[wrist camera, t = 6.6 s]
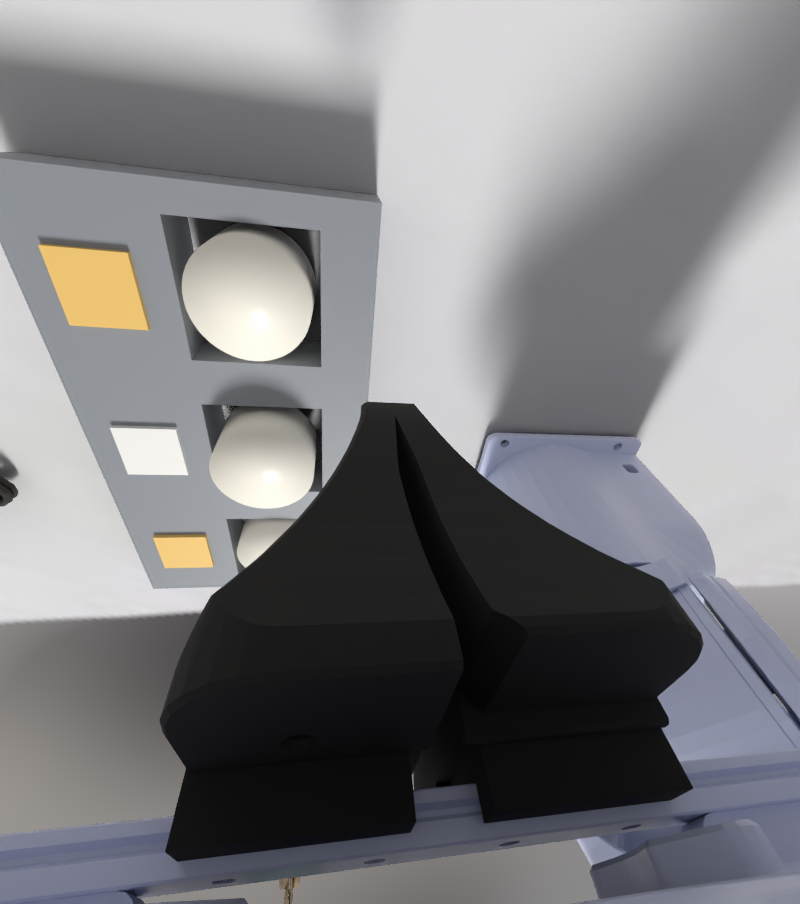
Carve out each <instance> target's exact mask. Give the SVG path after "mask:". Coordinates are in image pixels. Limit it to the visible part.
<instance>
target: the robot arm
mask: <svg viewBox="0 0 800 904" xmlns="http://www.w3.org/2000/svg"><path fill="white" fill-rule="evenodd" d="M503 440H507V441H506V442H505V443H501V442H502V441H503ZM616 444H617V445H616ZM640 446H641V442H640V441H639V440H638V439H637V438H636V437H621V436H588V435H556V434H524V433H493V434H490V435H489V436H488V437H487V439H486V442H485V445H484V449H483V452H482V455H481V459H480V462H479V466H478V469H477V470H476V469H474V468H473V467H472V466H471V465H470V464H469V463H468V462H467V461H466V460H465V459H464V458H463V457H461V456H460V455H459V454H458V453H457V452H456V451H455V450H454V449H453V448H452V446H451V445H450V444H449V443H448V442H447V441H446V440H445V439H444V438H443V437H442V436H441V435H440V434H439V433H438V431H437V430H436V429H435V428H434V427H433V426H432V425H431V423H430V422H429V421H428V420H427V419H426V418H425V416H424V415H423V414H422V413H421V412H420V411H419V409H418V408H417V407H416V406H415V405H414V404H404V403H380V402H365V403H364V404H363V405H361V415H360V419H359V422H358V425H357V428H356V431H355V433H354V435H353V438H352V440H351V442H350V444H349V446H348V448H347V450H346V452H345V454H344V456H343V457H342V459H341V461H340V463H339V464H338V466H337V468H336V469H335V471H334V472H333V474H332V476H331V477H330V479H329V480H328V481H327V483H326V484H325V486H324V487H323V488H322V490H321V491H320V492H319V494H318V495H317V496H316V498H315V499H314V500H313V501H312V502H311V504H310V505H309V506H308V507H307V508H306V510H305V511H304V512H303V513H302V514H301V515H300V517H299V518H298V519H297V520H296V521H295V522H294V523H293V524H292V525H291V526H290V527H289V528H288V529H287V530H286V531H285V532H284V533H283V534H282V535H281V536H280V537H279V538H278V539H277V540H276V541H275V542H274V543H273V544H272V545H271V546H270V547H269V548H268V549H267V550H266V551H265V552H264V553H262V554H261V555H260V556H259V557H258V558H257V559H256V560H255V561H253V562H252V563H251V564H250V565H248V566H247V567H246V568H245V569H244V570H242V571H241V572H240V573H239V574H237V575H236V576H235V577H234V578H233V579H231V580H230V581H229V582H228V583H226V584H225V585H224V586H223V587H222V588H220V589H219V590H218V591H217V592H215V593H214V594H213V595H212V596H211V597H210V599H209V601H208V602H207V604H206V606H205V608H204V610H203V611H202V613H201V615H200V617H199V619H198V621H197V622H196V624H195V627H194V628H193V630H192V633H191V635H190V637H189V639H188V641H187V643H186V646H185V648H184V650H183V652H182V654H181V657H180V659H179V662H178V664H177V667H176V670H175V673H174V676H173V680H172V682H171V686H170V689H169V692H168V695H167V698H166V701H165V705H164V708H163V711H162V714H161V718H160V724H161V728H162V731H163V734H164V735H165V737H166V738H167V739H168V741H169V743H170V744H171V746H172V747H173V749H174V750H175V752H176V753H177V755H178V756H179V758H180V759H181V761H182V762H183V764H184V765H185V767H186V771H185V776H184V779H183V783H182V787H181V791H180V795H179V799H178V803H177V806H176V811H175V815H174V816H168V817H160V818H151V819H141V820H131V821H122V822H114V823H103V824H95V825H85V826H76V827H67V828H58V829H48V830H38V831H30V832H20V833H11V834H1V835H0V904H145V903H144V902H143V901H142V900H141V899H140V898H146V897H153V896H160V895H168V894H175V893H183V892H190V891H198V890H205V889H212V888H220V887H227V886H234V885H242V884H249V883H257V882H264V881H271V880H279V879H286V878H294V877H301V876H307V875H315V874H323V873H330V872H338V871H344V870H353V869H360V868H367V867H374V866H382V865H390V864H397V863H404V862H411V861H419V860H427V859H434V858H441V857H448V856H456V855H463V854H470V853H478V852H486V851H493V850H500V849H508V848H515V847H523V846H530V845H537V844H545V843H552V842H560V841H567V840H574V839H576V840H577V841H578V843H579V845H580V846H581V848H582V850H583V852H584V853H585V855H586V857H587V859H588V861H589V863H590V864H591V866H592V867H591V870H590V873H591V877H592V880H593V883H594V885H595V889H596V892H597V895H598V898H599V899H597V900H592V901H585V902H579V903H573V904H800V661H799V660H798V659H797V657H796V656H795V655H794V654H793V653H792V652H791V650H790V649H789V648H788V647H787V646H786V644H785V643H784V642H783V641H782V640H781V639H780V637H779V636H778V635H777V634H776V633H775V632H774V630H773V629H772V628H771V627H770V626H769V625H768V624H767V622H766V621H765V620H764V619H763V618H762V617H761V616H760V615H759V613H758V612H757V611H756V610H755V609H754V608H753V607H752V606H751V604H750V603H749V602H748V601H747V600H746V599H745V598H744V597H743V596H742V595H741V594H740V593H739V592H738V591H737V590H736V589H735V588H734V587H733V586H732V585H731V584H730V583H729V582H728V581H727V580H725V579H722V578H719V577H715V561H714V556H713V552H712V549H711V546H710V543H709V541H708V539H707V537H706V534H705V533H704V531H703V530H702V528H701V526H700V525H699V524H698V523H697V521H696V520H695V519H694V518H693V517H692V516H691V515H690V514H689V513H688V512H687V510H686V509H685V508H684V507H683V506H682V505H681V504H680V503H679V502H678V501H677V500H676V499H675V497H674V496H673V495H672V494H671V493H670V492H669V491H668V490H667V489H666V488H665V487H664V486H663V484H662V483H661V482H660V481H659V480H658V479H657V478H656V477H655V476H654V475H653V474H652V473H651V472H650V470H649V469H648V468H647V467H646V466H645V465H644V464H643V463H642V462H641V461H640V460H639V459H638V457H637V456H636V453H637V451H638V450H639V448H640ZM704 602H705V604H706V605H707V606H708V607H709V609H710V610H711V612H712V613H713V614H714V616H715V617H716V618H717V619H718V621H719V622H720V623H721V625H722V626H723V627H724V630H723V629H722V628H721V627H720V626H719V625H718V623H717V622H716V620H715V619H714V618H713V616H712V615H711V614H710V613H709V611H708V610H707V609H706V608H705V606H704V605H703V603H704ZM774 693H775V694H776V696H777V697H778V698H779V700H780V701H781V702H782V703H783V705H784V706H785V709H786V711H785V710H784V709H783V707H782V706H781V705H780V703H779V702H778V701H777V699H776V698H775V697H774V696H773V694H774ZM412 773H414V790H413V784H412ZM150 904H248V903H247V902H246V900H245V899H244V898H237V899H218V900H199V901H181V902H162V903H150Z"/></svg>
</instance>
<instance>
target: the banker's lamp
mask: <svg viewBox="0 0 800 904" xmlns="http://www.w3.org/2000/svg"><path fill="white" fill-rule="evenodd" d="M299 881H300V877H294V878H290V889H288V887H289V878H286V879H280V889H286V891H285V897H284V899H285V903H284V904H287V901H288V899H289V904H291V903H292V898H293V893H292V889H293V888H298V885H299ZM288 894H289V896H288Z"/></svg>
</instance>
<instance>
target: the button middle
mask: <svg viewBox="0 0 800 904" xmlns="http://www.w3.org/2000/svg"><path fill="white" fill-rule="evenodd" d="M316 447H317V435H316V431H315V429H314V426H313V425H312V423H311V421H310V420H309V419H308V418H307V417H306V416H305V415H304V414H303V413H302V412H301V411H299V410H298V409H296V408H284V407H257V406H239V407H238V408H236V409H235V410H234V411H233V412H232V413H231V414H230V415H229V417H228V418H227V420H226V422H225V425H224V427H223V429H222V432H221V434H220V436H219V439H218V441H217V443H216V446H215V448H214V450H213V453H212V455H211V457H210V462H209V470H210V475H211V478H212V480H213V482H214V483H215V485H216V486H217V487H218V489H219V490H220V491H221V492H222V493H224V494H225V495H226V496H227V497H229V498H230V499H232V500H234V501H236V502H238V503H241V504H243V505H246V506H250V507H254V508H264V509H271V508H280V507H284V506H287V505H290V504H292V503H295V502H296V501H298V500H300V499H301V498H302V497H303V496H305V494H306V493H307V492H308V491H309V489H310V488H311V485H312V483H313V479H314V468H315V458H316Z"/></svg>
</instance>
